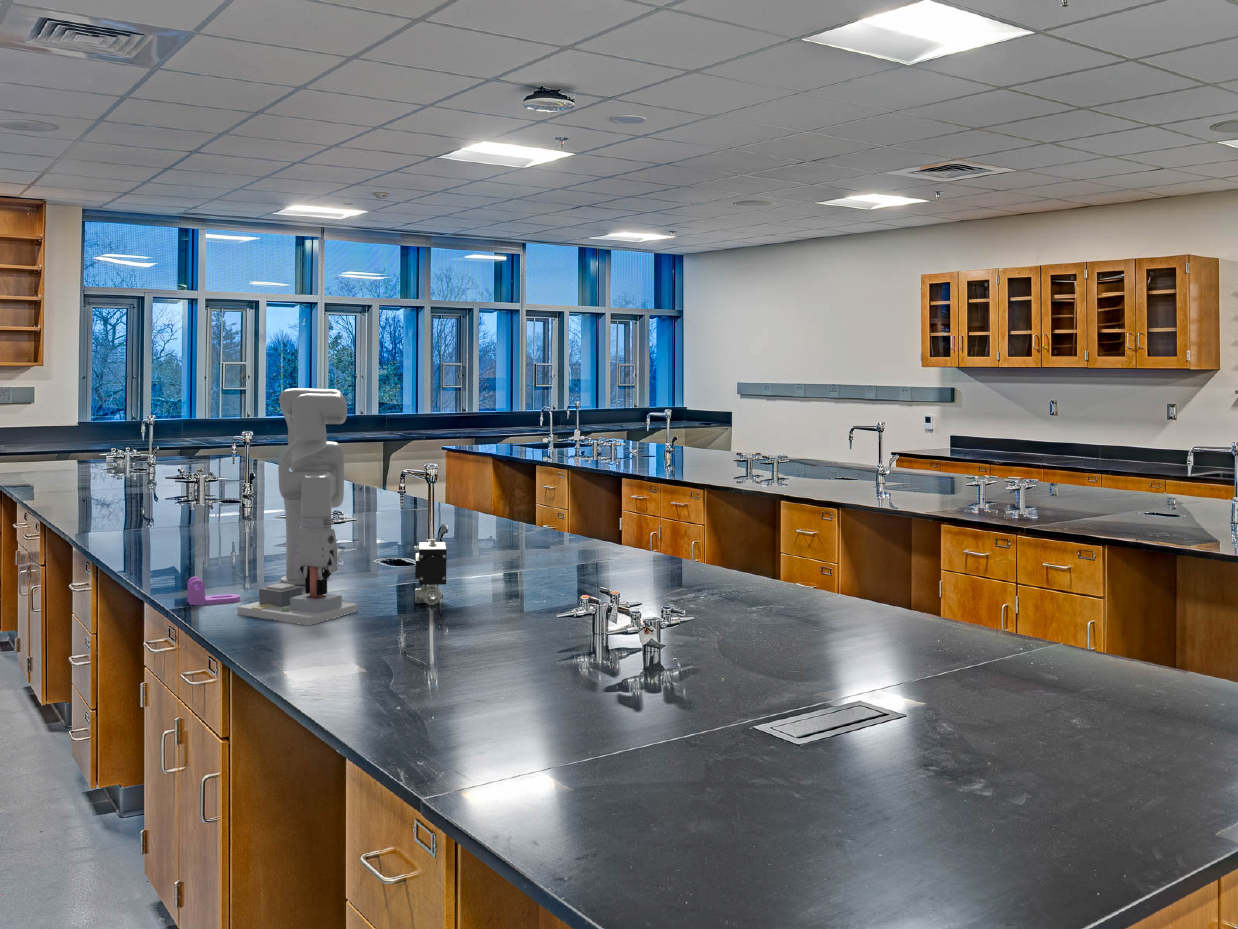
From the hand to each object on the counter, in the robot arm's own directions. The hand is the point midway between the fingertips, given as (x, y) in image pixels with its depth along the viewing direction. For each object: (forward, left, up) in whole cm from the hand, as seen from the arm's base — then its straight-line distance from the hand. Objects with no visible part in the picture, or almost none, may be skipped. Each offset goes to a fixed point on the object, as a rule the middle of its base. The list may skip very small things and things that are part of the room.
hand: (316, 592), depth 261 cm
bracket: (+1, -34, -6) cm, 35 cm away
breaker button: (0, -12, -3) cm, 12 cm away
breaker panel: (0, -6, -6) cm, 8 cm away
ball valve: (-27, +16, -6) cm, 32 cm away
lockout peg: (0, 0, -2) cm, 2 cm away
